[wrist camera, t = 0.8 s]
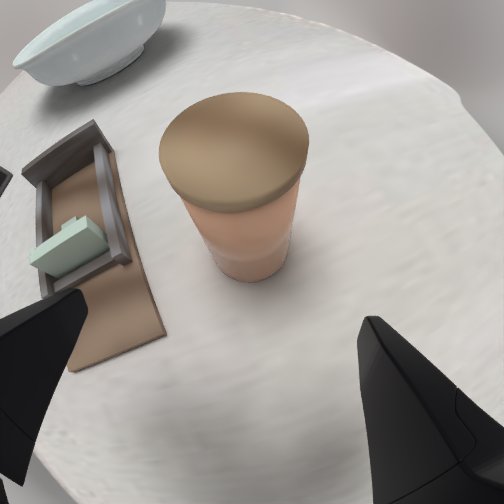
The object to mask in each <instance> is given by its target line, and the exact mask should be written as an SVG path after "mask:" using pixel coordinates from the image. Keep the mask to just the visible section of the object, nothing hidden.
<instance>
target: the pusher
mask: <svg viewBox="0 0 504 504" xmlns="http://www.w3.org/2000/svg"><path fill="white" fill-rule="evenodd" d="M61 228H62V230H61V231H60V232H58V233H57V234H55V235H54V236H52V237H51V238H50V239H48V240H47V241H45V242H44V243H42V244H41V245H39V246H38V247H37V248H35V249H34V250H32V251H31V252H30V253H29V260H30V265H32V266H34V267H36V268H38V269H40V270H42V271H44V272H46V273H48V274H50V275H52V276H54V277H56V278H58V279H61V278H62V277H64V276H66V275H67V274H69V273H71V272H72V271H74V270H76V269H78V268H79V267H81V266H83V265H85V264H86V263H88V262H90V261H92V260H93V259H95V258H97V257H99V256H101V255H102V254H104V253H106V252H108V251H110V248H109V243H108V239H107V234H106V233H105V232H104V231H103V230H102V229H101V228H100V227H98V226H97V225H96V224H95V223H94V222H93V221H92V220H91V219H89V218H88V217H87V216H86V215H85V216H84V217H82V218H80V219H79V218H78V217H76V216H75V217H74V218H72V219H70V220H69V221H67V222H66V223H64V224H63V225H61Z"/></svg>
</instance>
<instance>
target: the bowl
mask: <svg viewBox="0 0 504 504" xmlns="http://www.w3.org/2000/svg"><path fill="white" fill-rule="evenodd" d="M165 8H166V1H165V0H93V1H91V2H89V3H87V4H85V5H83V6H82V7H80V8H78V9H76V10H74V11H73V12H71V13H69V14H68V15H66V16H64V17H63V18H61V19H60V20H58V21H57V22H55V23H54V24H53V25H51V26H50V27H48V28H47V29H46V30H44V31H43V32H42V33H41V34H39V35H38V36H37V37H36V38H35V39H33V40H32V41H31V42H30V43H29V44H28V45H27V46H26V47H25V48H24V49H23V50H22V51H21V52H20V53H19V55H18V56H17V57H16V59H15V60H14V62H13V68H15V69H23V70H25V71H26V72H27V73H28V74H30V75H31V76H32V77H33V78H34V79H35V80H37V81H38V82H40V83H42V84H45V85H50V86H62V85H67V84H71V83H75V82H76V83H77V84H78V85H81V86H85V85H90V84H93V83H96V82H99V81H101V80H104V79H106V78H108V77H110V76H112V75H114V74H115V73H117V72H119V71H120V70H122V69H124V68H125V67H127V66H128V65H129V64H131V63H132V62H133V61H134V60H136V59H137V58H138V57H139V56H140V55H141V53H142V52H143V50H144V45H143V44H144V43H145V42H146V41H147V40H148V39H149V38H150V37H151V36H152V35H153V34H154V33H155V32H156V30H157V29H158V28H159V26H160V24H161V22H162V20H163V18H164V15H165Z"/></svg>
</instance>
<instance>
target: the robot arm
mask: <svg viewBox="0 0 504 504" xmlns="http://www.w3.org/2000/svg"><path fill="white" fill-rule="evenodd" d="M87 316H88V306H87V303H86V300H85V298H84V295H83V292H82V290H81V289H79V288H74V287H70V288H67V289H65V290H63V291H61V292H58V293H56V294H54V295H51V296H49V297H47V298H45V299H43V300H40V301H38V302H36V303H34V304H32V305H29V306H27V307H25V308H23V309H21V310H19V311H16V312H14V313H12V314H10V315H8V316H6V317H4V318H2V319H0V473H1V474H3V475H4V476H6V477H7V478H9V479H11V480H12V481H13V482H15V483H17V484H18V485H20V486H23V484H24V481H25V477H26V473H27V470H28V466H29V462H30V458H31V455H32V452H33V449H34V446H35V442H36V439H37V436H38V433H39V430H40V427H41V425H42V422H43V419H44V417H45V414H46V411H47V409H48V406H49V404H50V401H51V399H52V396H53V394H54V392H55V389H56V387H57V385H58V382H59V380H60V378H61V376H62V373H63V371H64V369H65V367H66V365H67V363H68V361H69V358H70V356H71V354H72V352H73V350H74V348H75V345H76V343H77V340H78V337H79V335H80V332H81V330H82V327H83V325H84V323H85V320H86V318H87ZM357 349H358V362H359V378H360V390H361V397H362V403H363V410H364V416H365V423H366V430H367V438H368V446H369V455H370V465H371V476H372V489H373V504H504V427H503V426H502V425H500V424H499V423H498V422H497V421H495V420H494V419H493V418H492V417H490V416H489V415H488V414H487V413H486V412H485V411H483V410H482V409H481V408H480V407H479V406H477V405H476V404H475V403H474V402H473V401H472V400H471V399H470V398H469V397H468V396H467V395H465V394H464V393H463V392H462V391H461V390H460V389H459V388H457V386H456V385H455V384H454V383H453V382H452V381H451V380H450V379H448V378H447V377H446V376H445V375H444V374H443V373H442V372H441V371H440V370H439V369H438V368H437V367H436V366H434V365H433V364H432V363H431V362H430V361H429V360H428V359H427V358H426V357H425V356H423V355H422V354H421V353H420V352H419V351H418V350H417V349H416V348H415V347H414V346H412V345H411V344H410V343H409V342H408V341H407V340H406V339H405V338H403V337H402V336H401V335H400V334H399V333H398V332H397V331H396V330H394V329H393V328H392V327H391V326H390V325H389V324H388V323H386V322H385V321H384V320H383V319H382V318H381V317H379V316H366V317H365V318H364V320H363V323H362V326H361V329H360V332H359V335H358V339H357ZM0 504H9V503H8V500H7V496H6V492H5V489H4V485H3V481H2V479H1V478H0Z"/></svg>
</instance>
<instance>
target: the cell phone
mask: <svg viewBox="0 0 504 504" xmlns="http://www.w3.org/2000/svg"><path fill="white" fill-rule="evenodd" d="M12 177H13V175H12V174H11V173H10V172H9V171H7V170H5V169H4V168H2V167H1V166H0V197H1V195H2V193H3V192H4V190H5V188H6V187H7V185H8V184H9V182H10V180H11V179H12Z"/></svg>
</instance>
